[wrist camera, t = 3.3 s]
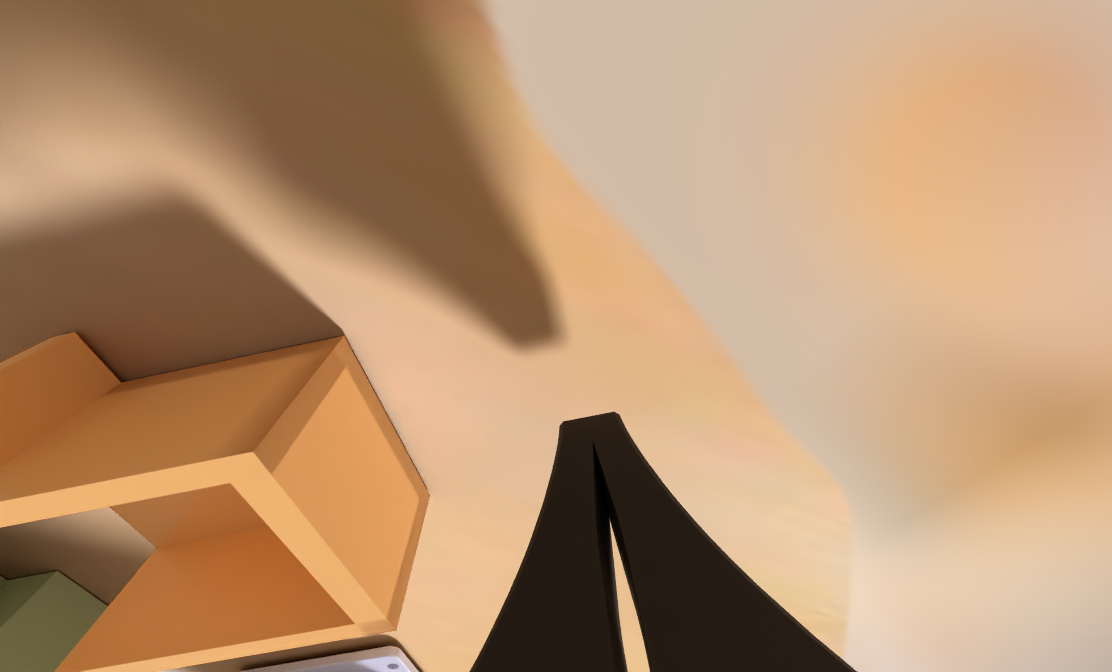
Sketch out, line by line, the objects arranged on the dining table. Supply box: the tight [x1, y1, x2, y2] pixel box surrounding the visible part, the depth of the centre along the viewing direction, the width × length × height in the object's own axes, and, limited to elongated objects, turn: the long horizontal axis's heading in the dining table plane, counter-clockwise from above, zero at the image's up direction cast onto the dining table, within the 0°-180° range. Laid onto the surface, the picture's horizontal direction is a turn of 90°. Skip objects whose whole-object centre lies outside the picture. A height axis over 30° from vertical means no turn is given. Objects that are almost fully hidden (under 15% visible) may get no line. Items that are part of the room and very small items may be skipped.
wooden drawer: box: [0, 332, 430, 672], centre depth 11 cm, size 10×9×4 cm
